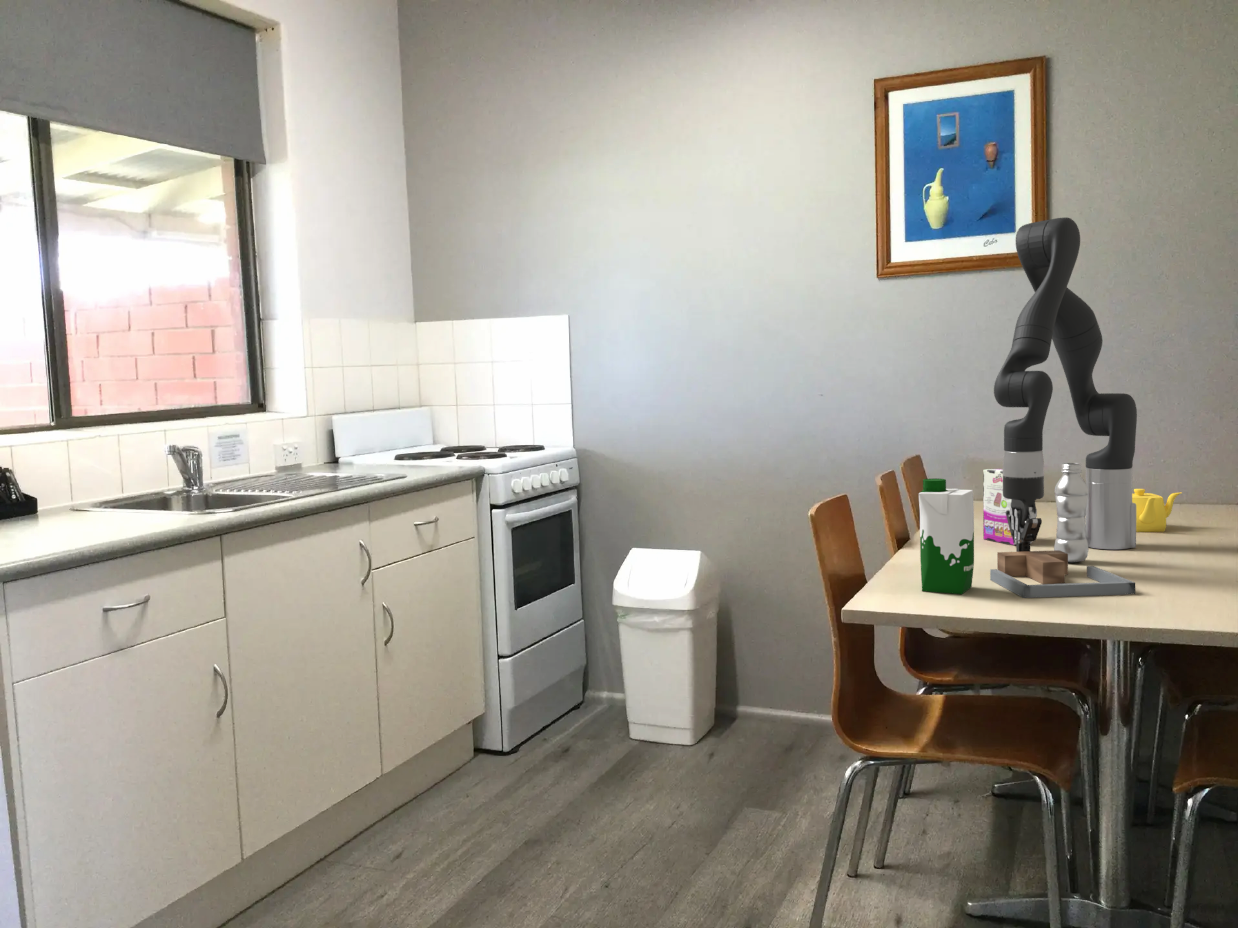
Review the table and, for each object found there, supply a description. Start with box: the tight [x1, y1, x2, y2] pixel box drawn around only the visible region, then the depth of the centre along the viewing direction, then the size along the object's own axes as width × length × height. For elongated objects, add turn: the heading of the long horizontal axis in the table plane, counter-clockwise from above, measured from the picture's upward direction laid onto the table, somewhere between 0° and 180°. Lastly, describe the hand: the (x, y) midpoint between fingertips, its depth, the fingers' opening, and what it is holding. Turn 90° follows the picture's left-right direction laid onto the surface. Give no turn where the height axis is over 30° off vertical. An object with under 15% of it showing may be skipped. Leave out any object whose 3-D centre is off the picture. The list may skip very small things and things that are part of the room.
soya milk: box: [918, 478, 975, 595], centre depth 192 cm, size 9×9×20 cm
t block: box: [997, 549, 1069, 584], centre depth 200 cm, size 12×12×4 cm
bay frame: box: [989, 565, 1136, 599], centre depth 192 cm, size 19×16×2 cm
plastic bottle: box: [1053, 462, 1090, 564], centre depth 214 cm, size 6×7×20 cm
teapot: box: [1132, 488, 1183, 533], centre depth 253 cm, size 15×14×10 cm
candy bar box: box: [982, 468, 1032, 546], centre depth 241 cm, size 11×5×16 cm, turn 18°
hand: (1023, 561), depth 208 cm, fingers closed
